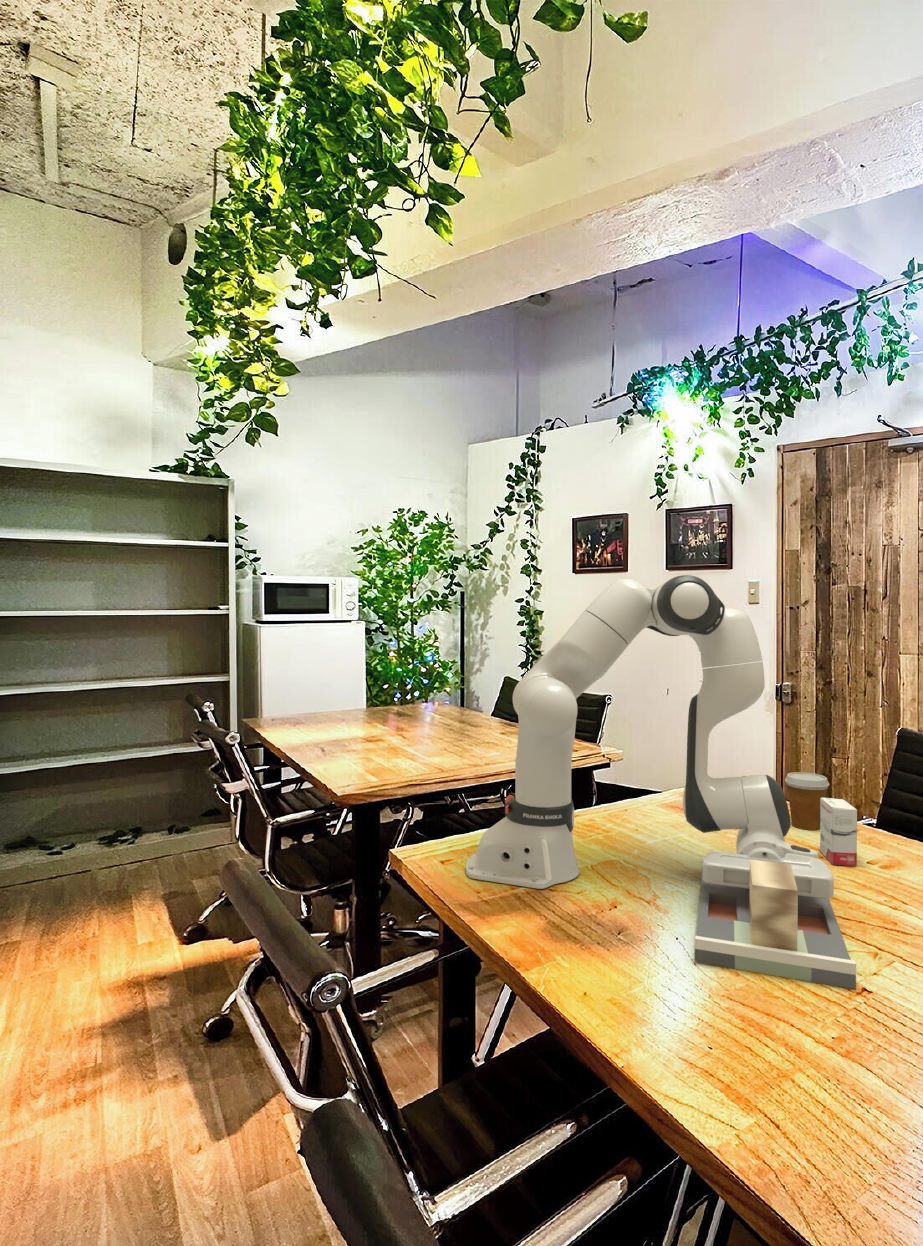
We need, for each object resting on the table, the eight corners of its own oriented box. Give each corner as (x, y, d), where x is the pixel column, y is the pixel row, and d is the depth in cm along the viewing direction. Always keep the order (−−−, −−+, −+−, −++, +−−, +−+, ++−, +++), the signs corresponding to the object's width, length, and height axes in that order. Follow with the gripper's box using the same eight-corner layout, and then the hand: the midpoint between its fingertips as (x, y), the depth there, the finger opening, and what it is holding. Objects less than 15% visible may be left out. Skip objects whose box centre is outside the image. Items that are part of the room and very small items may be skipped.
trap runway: (694, 961, 103) (695, 938, 103) (702, 874, 137) (702, 857, 137) (855, 989, 96) (856, 964, 96) (822, 889, 130) (822, 871, 130)
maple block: (751, 952, 102) (752, 884, 102) (749, 920, 112) (749, 859, 112) (797, 959, 100) (797, 890, 100) (790, 926, 110) (790, 864, 110)
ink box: (858, 867, 141) (858, 809, 141) (831, 865, 142) (832, 807, 142) (843, 852, 149) (844, 797, 149) (819, 850, 150) (819, 796, 150)
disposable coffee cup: (775, 822, 170) (776, 773, 170) (807, 818, 173) (807, 770, 173) (805, 834, 161) (806, 782, 161) (838, 830, 164) (838, 779, 164)
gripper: (701, 838, 128) (699, 864, 115) (826, 851, 121) (839, 880, 108) (701, 872, 128) (699, 901, 115) (826, 887, 121) (838, 921, 108)
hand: (768, 891), depth 111 cm, fingers closed, pressing on maple block
